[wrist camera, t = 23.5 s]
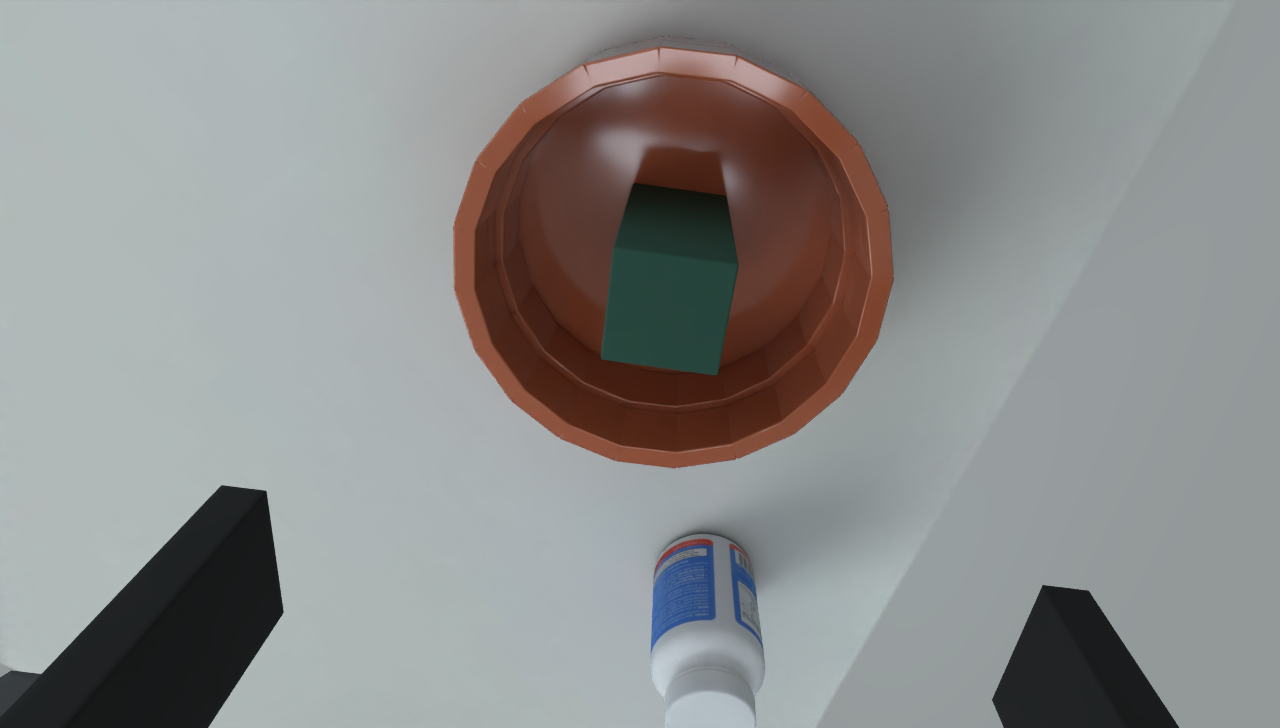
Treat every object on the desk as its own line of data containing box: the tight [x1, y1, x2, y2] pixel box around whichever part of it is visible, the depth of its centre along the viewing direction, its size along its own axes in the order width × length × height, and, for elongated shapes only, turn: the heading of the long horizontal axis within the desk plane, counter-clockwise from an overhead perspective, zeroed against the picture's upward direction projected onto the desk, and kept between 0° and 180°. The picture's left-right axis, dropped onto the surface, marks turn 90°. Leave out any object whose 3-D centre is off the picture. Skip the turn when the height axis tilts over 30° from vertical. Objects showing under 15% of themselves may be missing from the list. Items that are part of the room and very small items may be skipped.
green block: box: [601, 183, 739, 375], centre depth 29 cm, size 4×4×9 cm
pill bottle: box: [651, 534, 765, 728], centre depth 37 cm, size 6×5×10 cm
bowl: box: [453, 36, 894, 468], centre depth 30 cm, size 16×16×7 cm
